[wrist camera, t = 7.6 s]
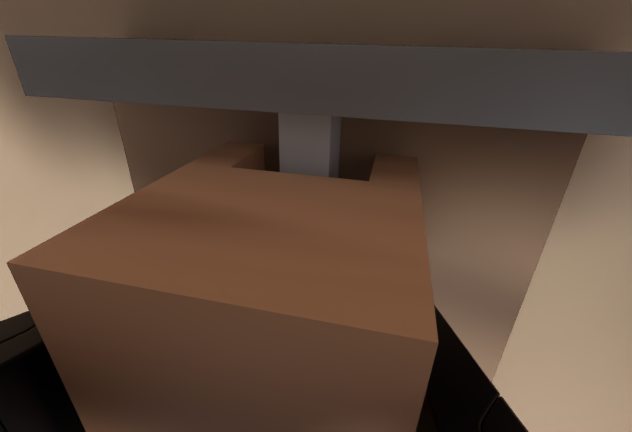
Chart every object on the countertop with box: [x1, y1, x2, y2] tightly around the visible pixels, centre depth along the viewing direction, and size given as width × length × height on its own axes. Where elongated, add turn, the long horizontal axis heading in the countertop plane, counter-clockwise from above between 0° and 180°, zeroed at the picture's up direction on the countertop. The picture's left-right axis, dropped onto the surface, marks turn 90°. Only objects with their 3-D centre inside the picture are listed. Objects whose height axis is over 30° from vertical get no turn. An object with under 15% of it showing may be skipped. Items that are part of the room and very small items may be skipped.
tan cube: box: [7, 141, 438, 432], centre depth 8 cm, size 6×5×6 cm
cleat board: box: [5, 35, 632, 382], centre depth 10 cm, size 12×12×4 cm
